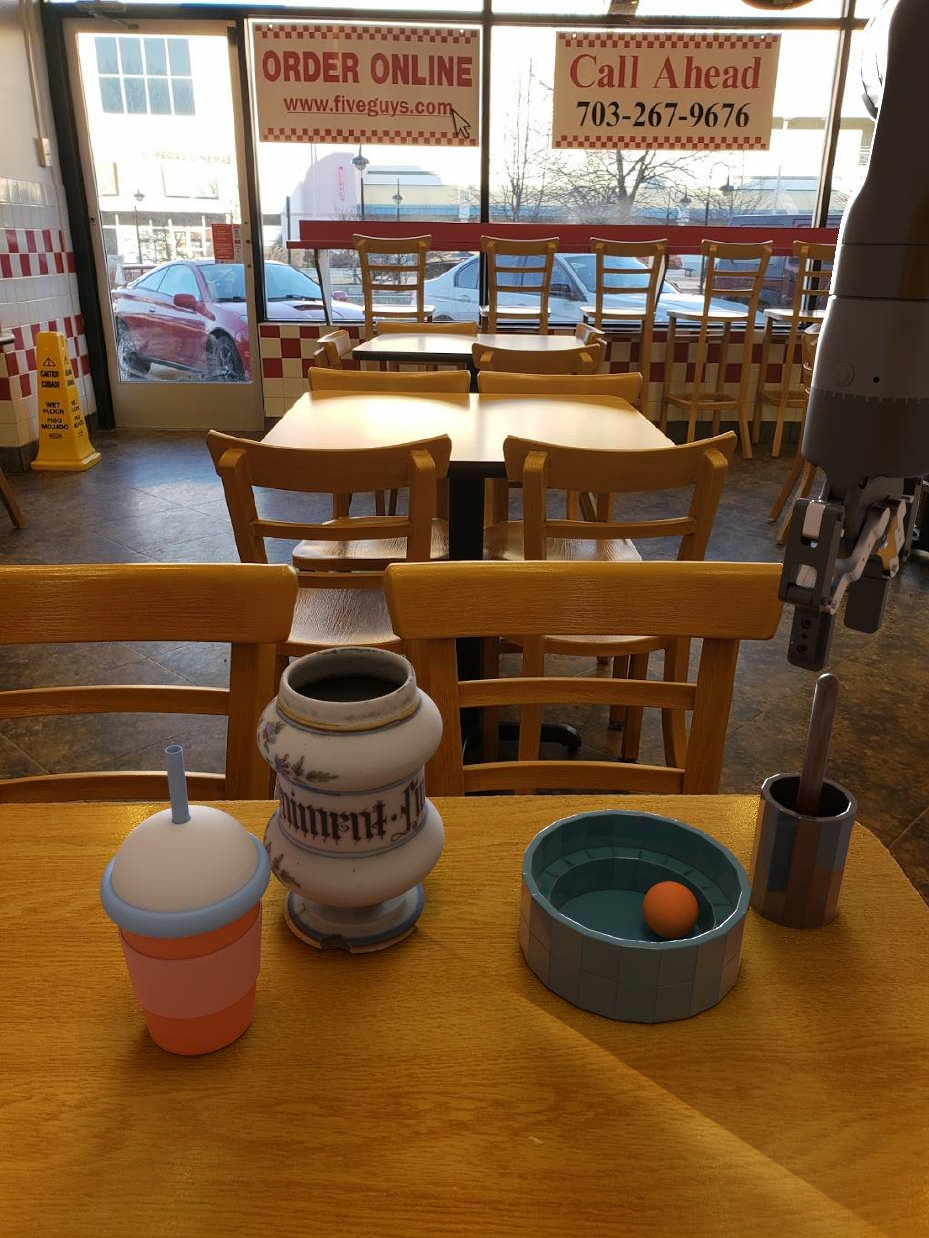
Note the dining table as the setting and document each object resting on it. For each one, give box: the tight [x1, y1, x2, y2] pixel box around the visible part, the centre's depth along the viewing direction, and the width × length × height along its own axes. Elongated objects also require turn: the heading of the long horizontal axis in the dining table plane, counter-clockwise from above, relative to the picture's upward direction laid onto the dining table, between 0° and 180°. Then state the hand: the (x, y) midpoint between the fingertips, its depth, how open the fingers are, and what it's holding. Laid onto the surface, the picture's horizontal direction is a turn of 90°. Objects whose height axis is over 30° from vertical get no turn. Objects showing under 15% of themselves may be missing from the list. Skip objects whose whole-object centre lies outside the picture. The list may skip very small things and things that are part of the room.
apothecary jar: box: [256, 646, 445, 955], centre depth 62 cm, size 12×12×18 cm
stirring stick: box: [795, 673, 841, 817], centre depth 63 cm, size 1×2×17 cm, turn 47°
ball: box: [643, 881, 698, 939], centre depth 62 cm, size 4×4×4 cm
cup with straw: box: [99, 744, 272, 1056], centre depth 52 cm, size 9×9×18 cm
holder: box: [747, 772, 859, 931], centre depth 64 cm, size 6×6×9 cm
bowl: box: [518, 808, 751, 1024], centre depth 61 cm, size 14×14×6 cm
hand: (835, 647), depth 59 cm, fingers open, 8 cm apart
